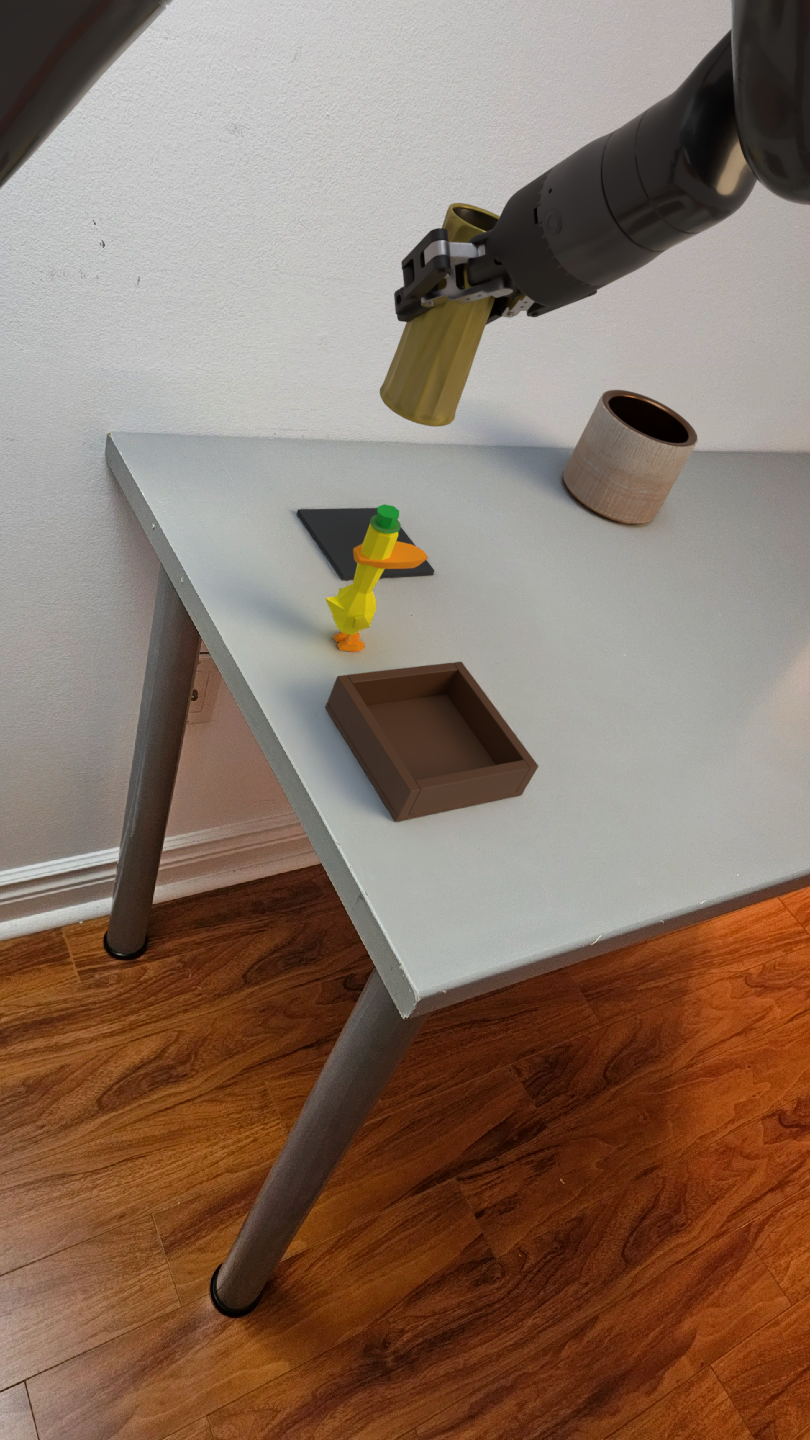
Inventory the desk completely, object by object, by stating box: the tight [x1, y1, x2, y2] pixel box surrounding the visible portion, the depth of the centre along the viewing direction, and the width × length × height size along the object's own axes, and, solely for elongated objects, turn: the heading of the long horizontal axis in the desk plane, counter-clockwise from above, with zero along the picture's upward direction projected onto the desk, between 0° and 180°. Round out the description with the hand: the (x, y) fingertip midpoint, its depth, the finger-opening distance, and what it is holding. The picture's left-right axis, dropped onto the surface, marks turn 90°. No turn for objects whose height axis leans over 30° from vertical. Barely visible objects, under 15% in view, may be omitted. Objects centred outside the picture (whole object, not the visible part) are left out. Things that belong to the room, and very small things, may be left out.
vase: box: [379, 202, 500, 427], centre depth 77 cm, size 6×6×14 cm
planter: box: [562, 389, 699, 525], centre depth 109 cm, size 11×11×10 cm
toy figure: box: [324, 503, 429, 653], centre depth 75 cm, size 7×4×12 cm, turn 114°
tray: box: [324, 661, 539, 823], centre depth 72 cm, size 11×11×3 cm
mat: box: [296, 507, 436, 581], centre depth 90 cm, size 9×9×1 cm
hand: (435, 312), depth 78 cm, fingers closed on vase, 5 cm apart
